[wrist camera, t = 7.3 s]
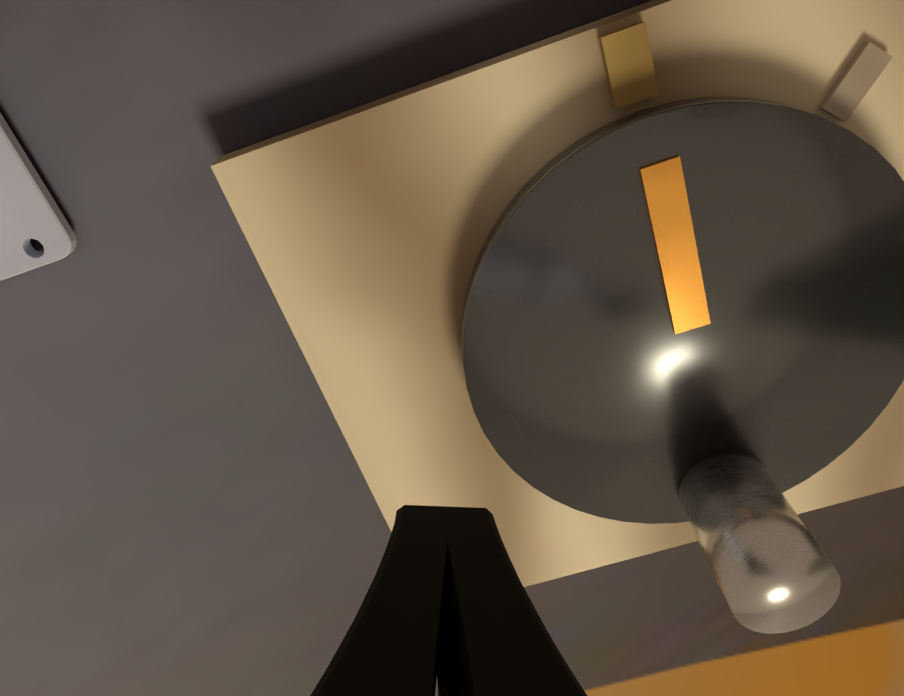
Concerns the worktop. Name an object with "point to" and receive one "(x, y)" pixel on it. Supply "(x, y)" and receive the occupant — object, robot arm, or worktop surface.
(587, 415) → the dial
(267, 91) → the worktop surface
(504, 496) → the board
